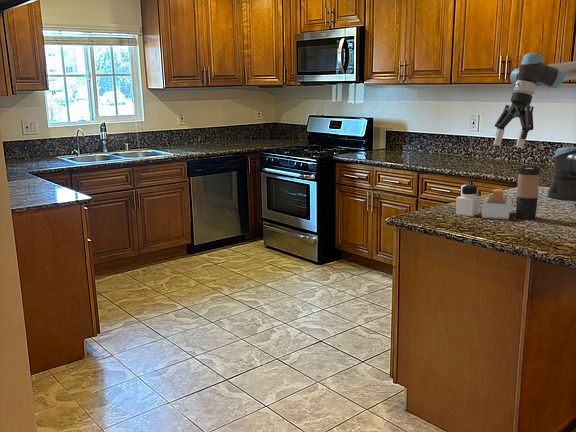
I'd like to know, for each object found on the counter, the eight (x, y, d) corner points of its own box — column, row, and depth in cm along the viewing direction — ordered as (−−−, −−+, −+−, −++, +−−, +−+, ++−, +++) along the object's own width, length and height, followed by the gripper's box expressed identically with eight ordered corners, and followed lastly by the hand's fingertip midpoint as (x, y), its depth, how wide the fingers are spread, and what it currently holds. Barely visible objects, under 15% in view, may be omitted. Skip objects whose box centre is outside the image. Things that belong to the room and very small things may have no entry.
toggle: (503, 198, 231) (503, 189, 230) (502, 199, 229) (503, 190, 228) (492, 197, 233) (493, 188, 232) (492, 199, 230) (492, 189, 229)
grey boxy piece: (510, 212, 234) (511, 194, 232) (508, 219, 221) (509, 201, 220) (484, 210, 238) (485, 193, 236) (481, 217, 225) (482, 199, 223)
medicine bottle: (479, 213, 232) (481, 184, 229) (472, 216, 227) (473, 187, 224) (463, 211, 237) (464, 183, 234) (455, 214, 232) (456, 185, 229)
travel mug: (538, 220, 219) (542, 169, 214) (517, 219, 220) (520, 168, 216) (533, 215, 226) (537, 166, 222) (513, 215, 228) (517, 166, 223)
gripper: (495, 91, 234) (481, 142, 237) (537, 90, 211) (521, 146, 213) (509, 96, 236) (495, 146, 239) (553, 95, 213) (537, 150, 216)
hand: (507, 146), depth 226 cm, fingers open, 13 cm apart
